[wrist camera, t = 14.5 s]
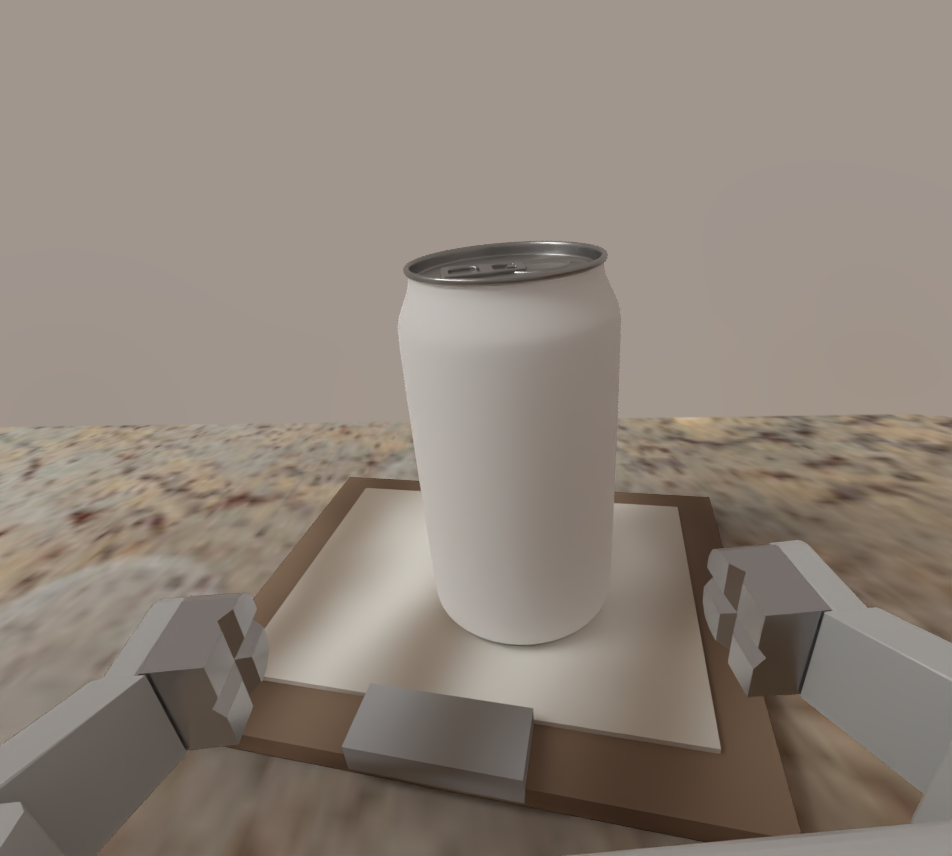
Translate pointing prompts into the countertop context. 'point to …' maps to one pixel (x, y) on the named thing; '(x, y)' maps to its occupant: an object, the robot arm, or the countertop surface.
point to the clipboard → (518, 677)
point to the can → (515, 431)
